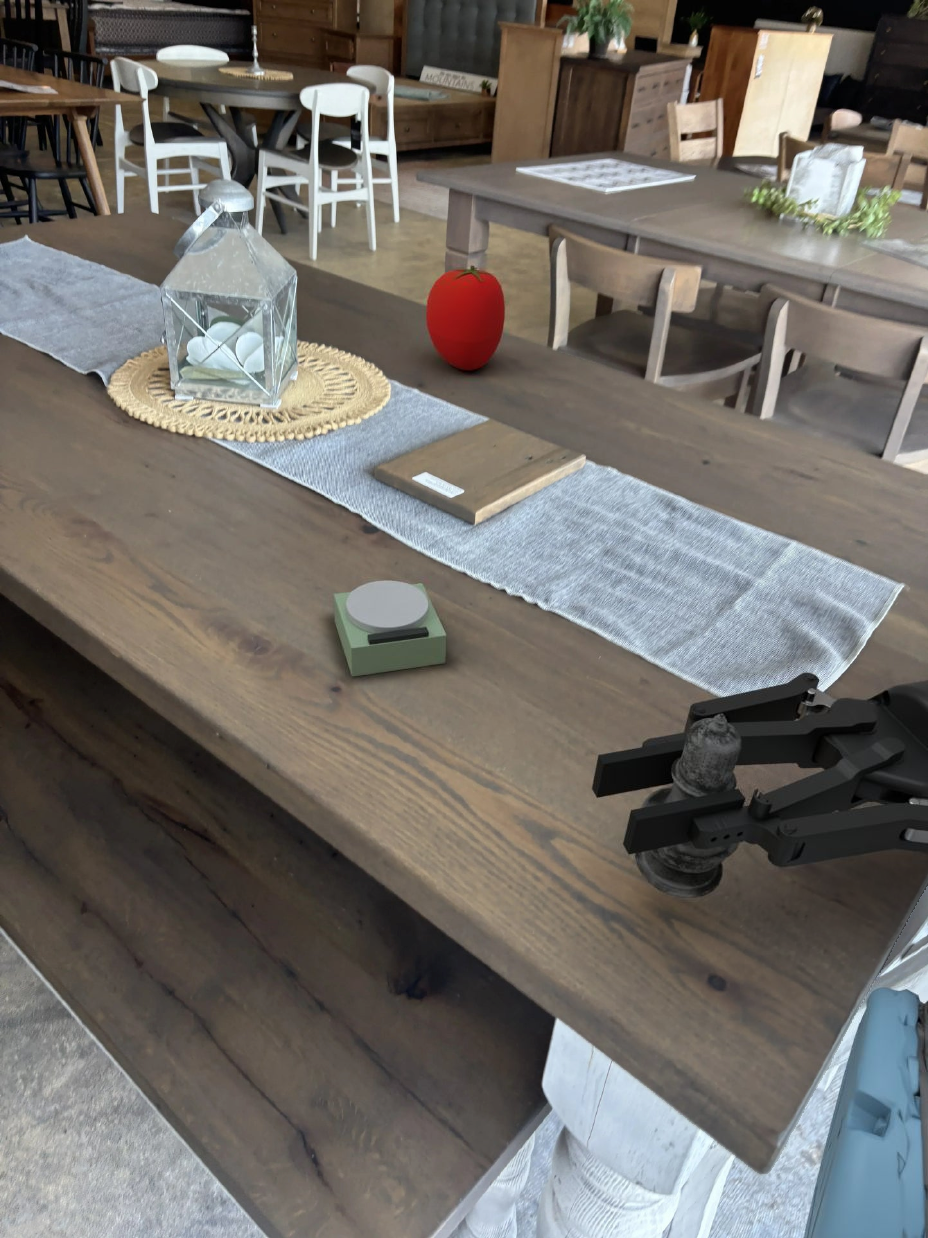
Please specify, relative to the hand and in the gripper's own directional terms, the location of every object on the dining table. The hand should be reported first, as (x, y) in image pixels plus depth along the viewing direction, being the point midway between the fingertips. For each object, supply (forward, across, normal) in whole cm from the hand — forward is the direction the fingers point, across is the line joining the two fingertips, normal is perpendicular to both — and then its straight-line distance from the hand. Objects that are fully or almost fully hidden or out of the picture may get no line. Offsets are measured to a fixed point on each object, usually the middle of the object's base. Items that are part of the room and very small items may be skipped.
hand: (614, 803), depth 50 cm
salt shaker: (-5, 0, -7) cm, 9 cm away
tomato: (-21, +95, -10) cm, 98 cm away
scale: (+5, +31, -11) cm, 33 cm away
